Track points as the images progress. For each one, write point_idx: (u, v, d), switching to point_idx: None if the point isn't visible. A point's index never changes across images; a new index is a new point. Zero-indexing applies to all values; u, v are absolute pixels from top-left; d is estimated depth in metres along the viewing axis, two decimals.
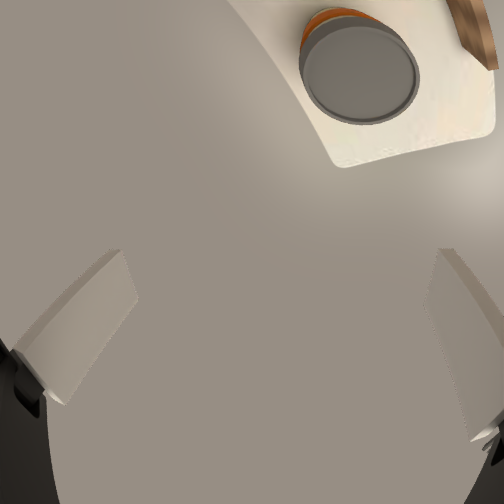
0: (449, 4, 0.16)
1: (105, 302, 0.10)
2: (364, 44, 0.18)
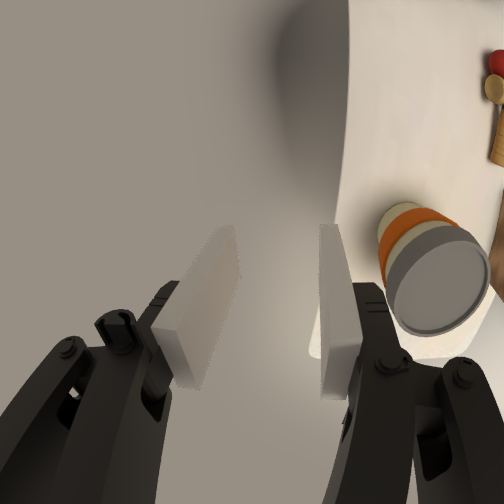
0: (496, 237, 0.31)
1: (226, 276, 0.11)
2: (465, 262, 0.21)
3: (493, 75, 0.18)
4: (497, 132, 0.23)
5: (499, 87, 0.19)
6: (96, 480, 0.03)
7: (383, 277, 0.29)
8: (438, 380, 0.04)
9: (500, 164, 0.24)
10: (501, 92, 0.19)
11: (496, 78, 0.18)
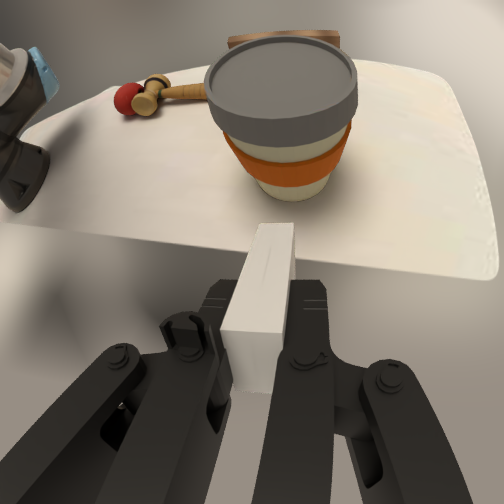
0: None
1: None
2: (240, 65, 0.19)
3: (133, 108, 0.37)
4: (183, 97, 0.37)
5: (141, 102, 0.37)
6: (151, 503, 0.03)
7: (306, 162, 0.21)
8: (360, 386, 0.05)
9: None
10: (143, 98, 0.36)
11: (134, 105, 0.37)
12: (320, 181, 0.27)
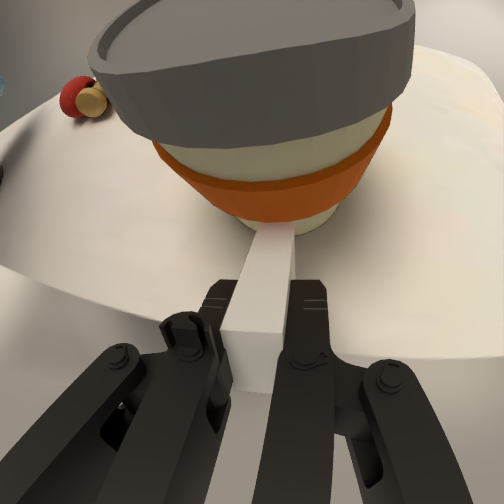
0: None
1: None
2: (174, 2, 0.08)
3: (79, 109, 0.25)
4: None
5: (87, 99, 0.25)
6: (151, 502, 0.03)
7: (306, 181, 0.10)
8: (360, 386, 0.05)
9: None
10: (88, 95, 0.24)
11: (80, 104, 0.25)
12: (330, 206, 0.15)
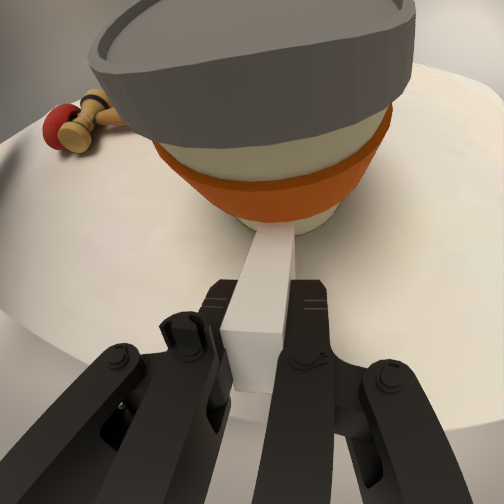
0: None
1: None
2: (175, 2, 0.08)
3: (62, 143, 0.24)
4: (124, 123, 0.24)
5: (70, 134, 0.23)
6: (151, 503, 0.03)
7: (304, 181, 0.10)
8: (360, 386, 0.05)
9: None
10: (70, 130, 0.22)
11: (63, 139, 0.23)
12: (330, 207, 0.15)
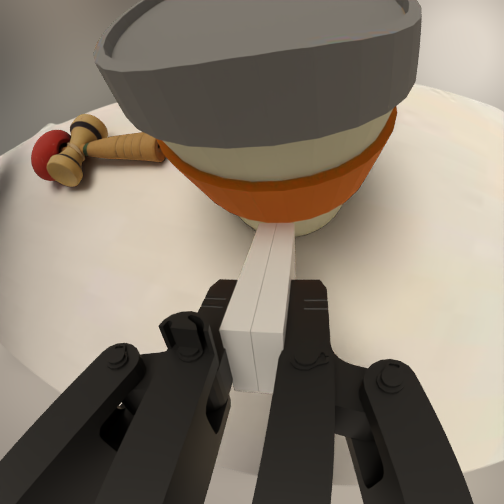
0: None
1: None
2: (181, 0, 0.08)
3: (52, 176, 0.22)
4: (117, 157, 0.23)
5: (60, 167, 0.22)
6: (150, 503, 0.03)
7: (306, 182, 0.10)
8: (361, 386, 0.05)
9: (153, 141, 0.21)
10: None
11: (52, 172, 0.22)
12: None
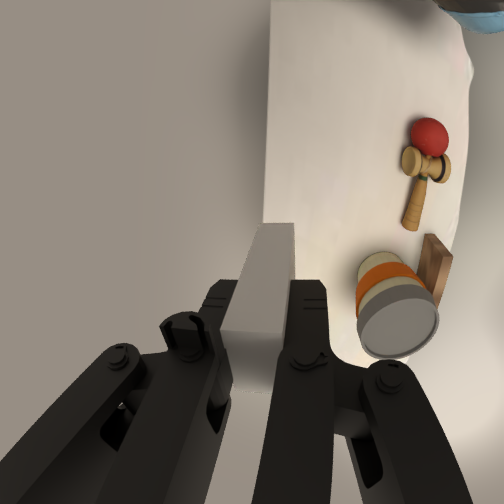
0: None
1: None
2: (418, 310, 0.31)
3: (410, 148, 0.32)
4: (410, 200, 0.37)
5: (414, 159, 0.32)
6: (151, 502, 0.03)
7: (357, 314, 0.39)
8: (360, 386, 0.05)
9: (409, 229, 0.38)
10: (414, 166, 0.32)
11: (412, 151, 0.32)
12: None
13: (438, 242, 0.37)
